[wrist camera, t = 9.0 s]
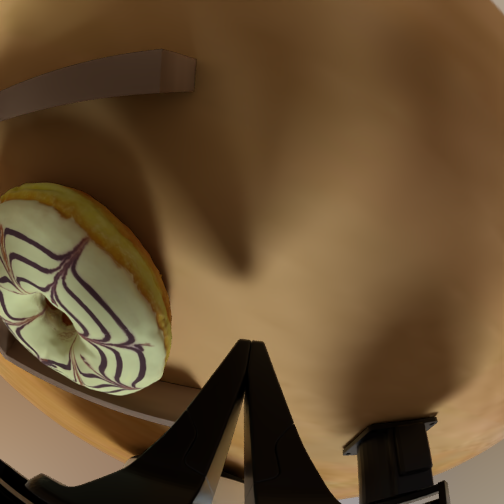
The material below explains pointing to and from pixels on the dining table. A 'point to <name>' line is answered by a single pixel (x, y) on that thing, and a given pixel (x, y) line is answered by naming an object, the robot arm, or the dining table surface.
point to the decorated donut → (81, 289)
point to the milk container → (221, 487)
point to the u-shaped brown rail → (82, 89)
